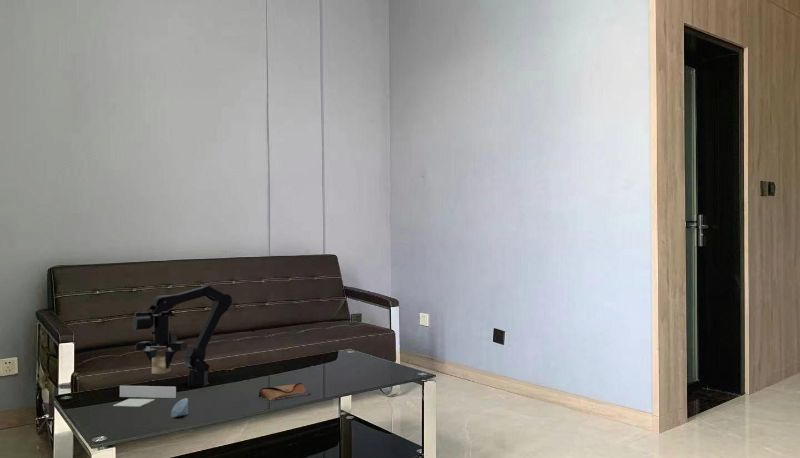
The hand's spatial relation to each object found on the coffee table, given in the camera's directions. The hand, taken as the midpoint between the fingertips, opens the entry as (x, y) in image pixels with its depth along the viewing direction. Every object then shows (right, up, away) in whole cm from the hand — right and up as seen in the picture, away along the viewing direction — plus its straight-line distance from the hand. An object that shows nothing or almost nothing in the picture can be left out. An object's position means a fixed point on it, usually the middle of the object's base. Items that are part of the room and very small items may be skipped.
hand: (161, 368), depth 242 cm
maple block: (0, -2, 0) cm, 2 cm away
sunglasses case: (+51, -9, -11) cm, 52 cm away
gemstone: (+20, -8, -37) cm, 43 cm away
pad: (-2, -8, -19) cm, 21 cm away
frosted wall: (-1, -9, -10) cm, 13 cm away
